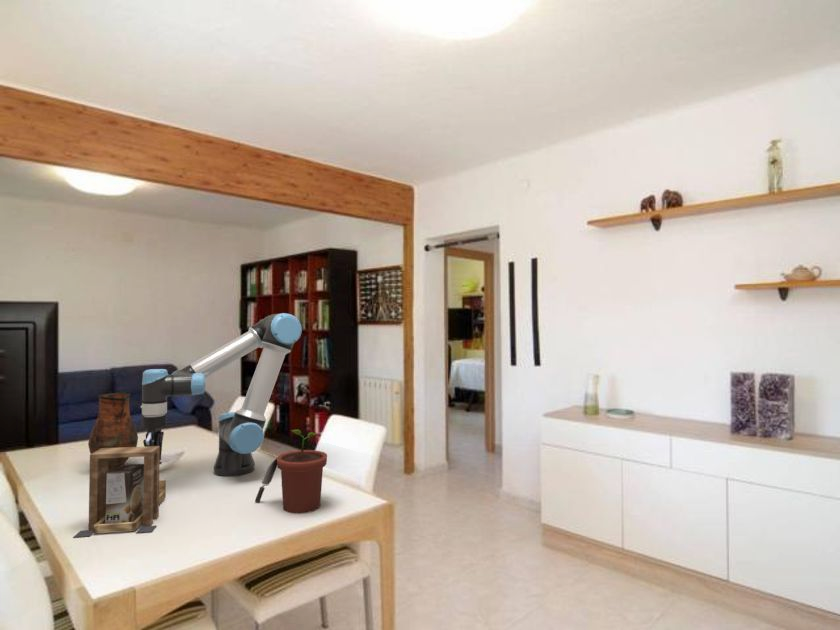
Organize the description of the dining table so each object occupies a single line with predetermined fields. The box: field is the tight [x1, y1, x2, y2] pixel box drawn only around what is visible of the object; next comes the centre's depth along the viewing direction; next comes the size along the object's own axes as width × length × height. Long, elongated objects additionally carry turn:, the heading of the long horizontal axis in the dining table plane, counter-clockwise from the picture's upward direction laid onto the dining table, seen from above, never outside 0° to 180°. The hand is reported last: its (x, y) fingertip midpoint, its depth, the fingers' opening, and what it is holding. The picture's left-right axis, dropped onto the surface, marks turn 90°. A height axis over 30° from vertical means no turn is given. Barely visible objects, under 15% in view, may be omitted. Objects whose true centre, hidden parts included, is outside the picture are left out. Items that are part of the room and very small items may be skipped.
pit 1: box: [72, 529, 94, 539], centre depth 134 cm, size 4×4×1 cm
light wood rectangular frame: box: [93, 478, 167, 534], centre depth 147 cm, size 11×26×6 cm, turn 11°
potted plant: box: [254, 429, 328, 514], centre depth 157 cm, size 18×22×25 cm
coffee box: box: [105, 463, 144, 524], centre depth 141 cm, size 9×6×16 cm
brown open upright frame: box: [88, 446, 161, 530], centre depth 141 cm, size 16×7×21 cm, turn 101°
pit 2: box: [135, 525, 158, 534], centre depth 137 cm, size 4×4×1 cm
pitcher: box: [88, 392, 139, 472], centre depth 193 cm, size 17×21×30 cm
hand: (153, 484), depth 165 cm, fingers closed
